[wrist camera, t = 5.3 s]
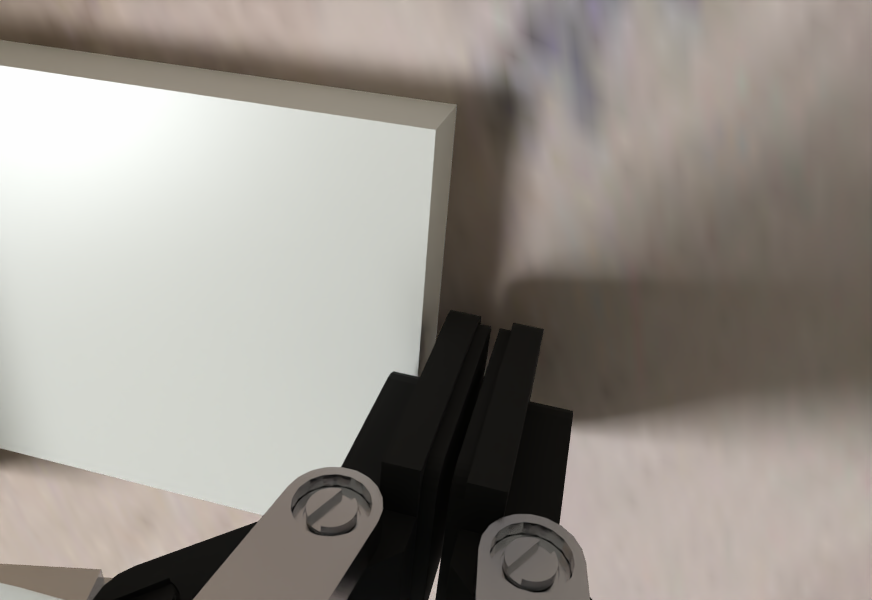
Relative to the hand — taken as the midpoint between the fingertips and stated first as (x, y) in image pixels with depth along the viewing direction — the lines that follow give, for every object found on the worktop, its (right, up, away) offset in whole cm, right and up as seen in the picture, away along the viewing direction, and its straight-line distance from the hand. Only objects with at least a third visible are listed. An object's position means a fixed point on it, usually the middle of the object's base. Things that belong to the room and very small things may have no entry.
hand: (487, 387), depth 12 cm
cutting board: (-9, +3, +3) cm, 9 cm away
